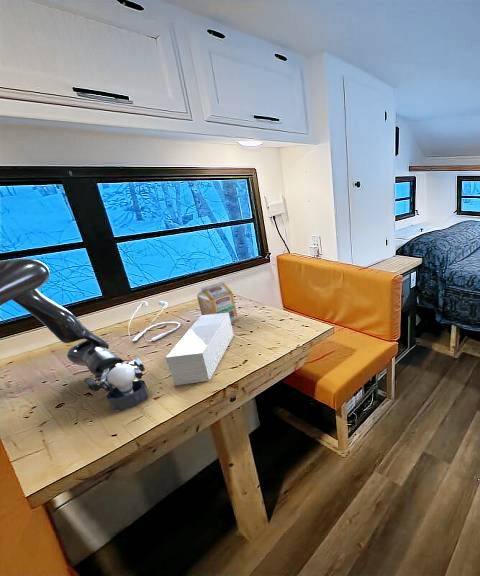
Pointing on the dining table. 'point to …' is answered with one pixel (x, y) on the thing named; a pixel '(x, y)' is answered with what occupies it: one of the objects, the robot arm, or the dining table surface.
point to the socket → (131, 400)
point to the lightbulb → (122, 379)
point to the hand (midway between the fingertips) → (126, 382)
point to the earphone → (153, 325)
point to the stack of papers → (200, 349)
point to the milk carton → (217, 300)
